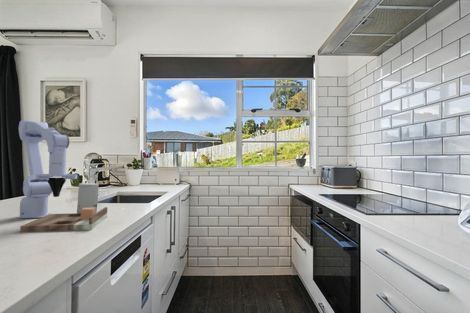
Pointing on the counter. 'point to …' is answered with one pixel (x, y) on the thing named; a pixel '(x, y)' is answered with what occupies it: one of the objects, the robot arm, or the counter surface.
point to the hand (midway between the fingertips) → (56, 196)
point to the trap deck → (65, 222)
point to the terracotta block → (87, 213)
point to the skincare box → (87, 196)
